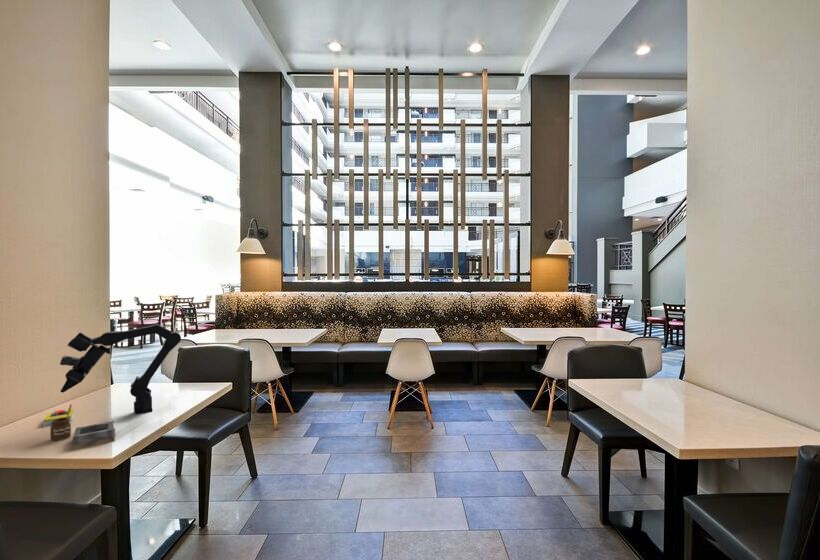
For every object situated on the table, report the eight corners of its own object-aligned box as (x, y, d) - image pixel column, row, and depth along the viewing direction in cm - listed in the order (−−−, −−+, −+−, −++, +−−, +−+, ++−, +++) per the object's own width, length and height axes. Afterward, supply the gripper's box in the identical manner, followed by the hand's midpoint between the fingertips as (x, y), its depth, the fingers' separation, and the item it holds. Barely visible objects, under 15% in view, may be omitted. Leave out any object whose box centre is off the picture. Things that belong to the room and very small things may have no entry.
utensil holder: (48, 438, 151) (47, 407, 151) (69, 433, 156) (68, 403, 156) (52, 442, 148) (52, 410, 148) (74, 436, 153) (73, 405, 153)
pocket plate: (115, 430, 158) (114, 420, 158) (114, 440, 148) (114, 429, 148) (74, 438, 151) (74, 427, 151) (71, 449, 141) (71, 437, 141)
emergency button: (75, 405, 180) (71, 414, 168) (75, 415, 180) (71, 424, 168) (47, 409, 175) (41, 419, 163) (47, 419, 175) (41, 429, 162)
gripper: (76, 345, 177) (48, 376, 172) (67, 351, 161) (37, 385, 156) (101, 357, 182) (75, 388, 177) (95, 364, 166) (67, 398, 161)
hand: (63, 389), depth 168 cm, fingers open, 9 cm apart
